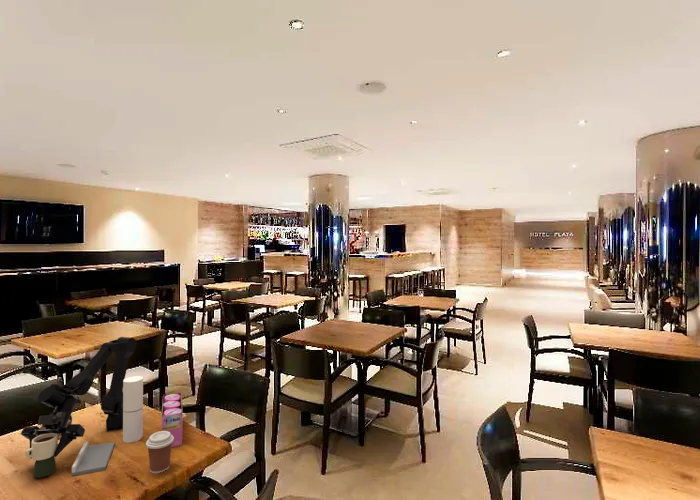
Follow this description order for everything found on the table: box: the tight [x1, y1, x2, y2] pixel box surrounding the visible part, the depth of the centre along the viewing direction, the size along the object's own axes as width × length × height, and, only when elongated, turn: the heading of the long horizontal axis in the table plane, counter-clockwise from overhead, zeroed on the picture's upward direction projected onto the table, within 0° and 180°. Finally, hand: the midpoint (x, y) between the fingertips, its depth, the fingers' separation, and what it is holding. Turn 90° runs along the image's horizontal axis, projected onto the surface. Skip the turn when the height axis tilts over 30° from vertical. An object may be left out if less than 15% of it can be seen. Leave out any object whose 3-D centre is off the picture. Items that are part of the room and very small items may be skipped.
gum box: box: [161, 392, 184, 448], centre depth 159 cm, size 24×8×14 cm, turn 26°
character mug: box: [24, 433, 61, 478], centre depth 130 cm, size 11×7×13 cm, turn 150°
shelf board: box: [71, 440, 116, 477], centre depth 139 cm, size 10×18×3 cm, turn 23°
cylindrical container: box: [122, 375, 144, 444], centre depth 155 cm, size 7×7×25 cm
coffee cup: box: [145, 430, 174, 474], centre depth 135 cm, size 9×9×12 cm
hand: (42, 457), depth 129 cm, fingers closed on character mug, 7 cm apart
